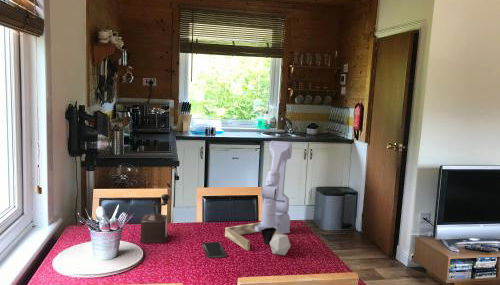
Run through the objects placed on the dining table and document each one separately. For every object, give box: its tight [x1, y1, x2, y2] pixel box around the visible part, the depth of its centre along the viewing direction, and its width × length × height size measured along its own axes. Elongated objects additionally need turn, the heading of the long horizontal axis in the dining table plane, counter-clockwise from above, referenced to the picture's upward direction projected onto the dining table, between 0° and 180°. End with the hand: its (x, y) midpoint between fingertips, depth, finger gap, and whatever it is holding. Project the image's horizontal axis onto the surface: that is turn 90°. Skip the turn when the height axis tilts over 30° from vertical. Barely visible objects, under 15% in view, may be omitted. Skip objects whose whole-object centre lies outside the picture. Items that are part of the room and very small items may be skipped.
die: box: [269, 234, 291, 257], centre depth 168 cm, size 8×9×10 cm
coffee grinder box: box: [140, 193, 171, 244], centre depth 179 cm, size 16×11×18 cm
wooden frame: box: [224, 221, 284, 251], centre depth 183 cm, size 19×19×4 cm
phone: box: [201, 241, 227, 259], centre depth 168 cm, size 8×1×15 cm
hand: (267, 244), depth 174 cm, fingers closed
